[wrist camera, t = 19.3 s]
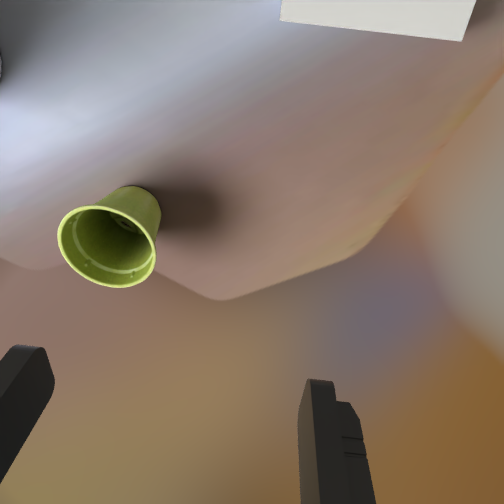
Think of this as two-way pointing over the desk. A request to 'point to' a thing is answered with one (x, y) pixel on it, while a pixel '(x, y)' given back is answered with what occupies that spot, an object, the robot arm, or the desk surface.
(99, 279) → the plant pot
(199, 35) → the desk surface
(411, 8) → the socket block
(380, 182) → the desk surface
